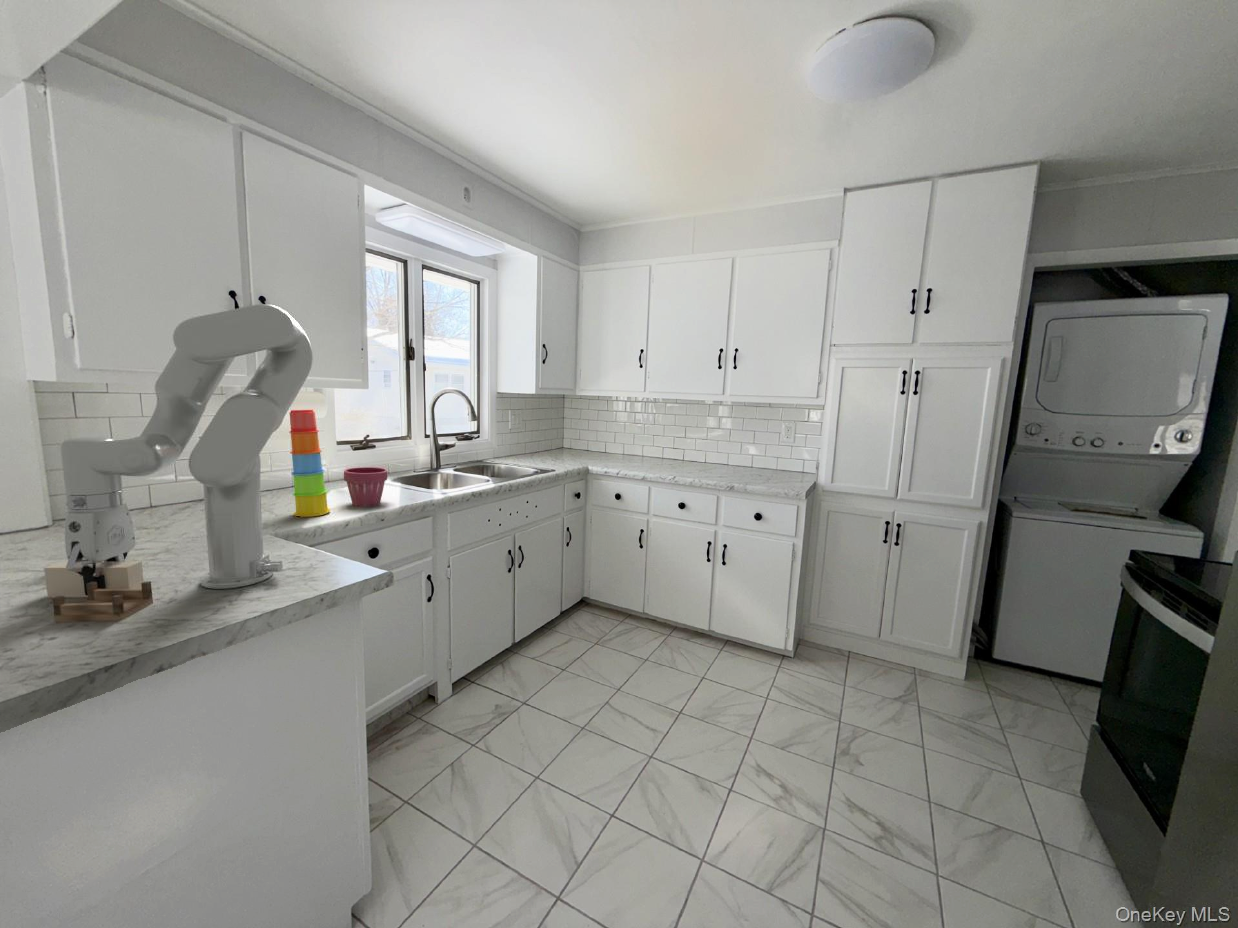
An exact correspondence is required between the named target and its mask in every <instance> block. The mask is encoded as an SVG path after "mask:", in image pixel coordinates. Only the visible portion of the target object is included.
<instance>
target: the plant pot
mask: <svg viewBox="0 0 1238 928" xmlns="http://www.w3.org/2000/svg"><path fill="white" fill-rule="evenodd" d="M387 480H388V470H387V468H384V467H374V466H369V467H368V466H362V467H360V466H358V467H350V468H345V469H344V470H343V481H344V482H346V485H347V488H348V492H349V497H350V499H351V504H352V506H355V507H359V508H360V507H361V508H362V507H364V508H365V507H374V506H375V507H376V506H378V505H380V504H381V500H382V496H383V492H384V488H385V482H386V481H387Z"/></svg>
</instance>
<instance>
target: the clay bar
mask: <svg viewBox="0 0 1238 928" xmlns="http://www.w3.org/2000/svg"><path fill="white" fill-rule="evenodd" d="M67 562H68V561H59V562H57V563H53V564H51V565H49V566H45V567H44V569H43V570H44V571H43V572H44V577H45V586H46V593H47V598H54V597H56V596H64V598H88V596H87V595H85V590H84V581H83V577H80V576H79V574H78V573H76V572H74V571H69V570H66V565H67ZM88 566H90V567H91V568H93V564H88ZM143 571H144V570H143V561H142V560H139V561H136V560H135V561H133V560H130V561H128V560H127V561H105V562H104V561H101V575H104V577H105V587H106V589H137V588H142V587H141V583H143V582H145V580H144V573H143Z"/></svg>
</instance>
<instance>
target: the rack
mask: <svg viewBox="0 0 1238 928" xmlns="http://www.w3.org/2000/svg"><path fill="white" fill-rule="evenodd" d="M86 585H87V594H88V597H87V600H85V601H83V602H75V603H74V602H71V603H69V602H68V603H67V602H66V601H65V597H64V596H56V597H51V598H52V605H53V613H54V616H53V617H54V622H55V623H71V622H72V623H74V622H77V623H78V622H79V623H80V622H114V621H115V622H120V621H122V620H125V619H126V618H128V617H130V616H131V615H133V614H135V613H137V612H139V611H141V610H143V609H144V608H148V606H150V605H152V604H154V599H153V591H152V581H145V580H144V582H143V583H141V587H142V588H137V589H98V588H97V582H90V583H87V584H86Z"/></svg>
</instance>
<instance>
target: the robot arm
mask: <svg viewBox="0 0 1238 928" xmlns="http://www.w3.org/2000/svg"><path fill="white" fill-rule="evenodd" d="M172 337H173V338H172V339H173V340H172V341H173V344H174V347H175V348H176V349H175V351H174V352H173V354H172V356H171V357H170V358H169V360H168V362H167V363H166V365H165V367H164V369H163V370H162V372H161V374H160V375H159V376H158V378H157V380H156V381H155V385H154V392H155V395H156V396H155V397H156V405H155V408H154V411H153V413H152V415H151V417H150V419H149V421H148V423H147V424H146V426H145V427H144V429H143V431H142V432H141V434H140V435H139V436H135V437H132V438H131V437H130V438H123V439H116V440H115V439H113V438H111V437H103V436H84V437H83V436H82V437H81V436H80V437H72V438H68V439H65V440H63V441H62V442H61V445H60V456H61V464H62V472H63V480H64V490H65V499H66V502H65V506H66V508H67V512H66V514H65V515H66V516H65V522H64V523H65V525H64V547H65V555H66V559H67V561H66V562H67V565H66V570H69V571H74V572H76V573H78V574H79V576H80V577H83V581H84V590H85V595H87V596H88V594H87V585H86V584H87V583H90V582H97V588H98V589H106V587H105V577H104V575H101V562H105V561H125V560H126V559H127V557H128V554H129V553H130V552H131V551H132V550H133V549H134V548H135V547H136V534H135V529H134V525H133V519H132V514H131V513H130V510H129V507H128V505H127V503H125V502H124V501H125V500H124V492H123V482H122V480H123V479H122V476H124V477H125V476H126V477H145V476H150V475H153V474H155V473H157V472H158V473H159V472H160V471H161V470H163V469H166V468H168V467H170V466H172V465H173V464H174V463H175V462H176V461H177V460H178V459H179V457H180V456H181V454H182V453H183V451H184V450H185V448H186V447H187V445H188V443H189V442H190V440H191V438H192V437H193V434H194V433H195V432H196V430H197V427H198V425H199V423H200V421H201V418H202V416H203V415H204V412H205V411H206V407H207V405H208V403H209V401H210V400H211V398H212V396H213V395H214V392H216V389H217V388H218V386H219V384H220V383H221V382H222V379H223V378H224V377H225V374H226V373H227V371H228V369H229V368H230V366H231V365H232V363H233V362H234V359H235V357H239V356H245V355H248V354H253V353H257V352H261V351H266V353H265V356H264V359H263V360H262V362H261V363H260V365H259V366H258V367H257V369H256V370H255V372H254V374H253V376H252V378H251V379H250V380H249V382H248V383H247V385H246V387H244V389H243V391H241V392H240V393H237V394H234V395H232V396H230V397H229V398H227V400H225V401H224V402H223V403H222V404H221V406H220V407H219V408H218V409H217V411H216V413H215V414H214V416H213V418H212V419H211V421H210V422H209V424H208V425H207V427H206V428H205V430H204V431H203V433H202V434H201V436H200V438H199V440H198V441H197V443H196V444H195V446H194V447H193V449H192V451H191V453H190V454H189V457H188V470H189V472H190V473H191V475H192V477H193V478H194V480H195V481H197V482H199V483H200V484H201V485H203V488H204V489H203V498H204V499H203V501H204V502H203V503H204V514H205V515H204V516H205V517H204V518H205V529H206V530H205V531H206V541H207V544H206V545H207V554H208V555H207V557H208V569H209V571H208V572H207V573H205V574H204V575H202V576H201V578H200V579H199V580H200V581H199V582H200V585H201V586H202V587H204V588H207V589H213V590H214V589H215V590H222V589H226V590H227V589H234V588H240V587H241V588H242V587H245V586H246V587H247V586H250V585H254V584H257V583H261V582H262V581H266V580H267V579H269V578H270V577H272V576H273V574H274V573H281V572H282V571H283V561H282V560H272V559H271V560H270V554H267V553H264V540H263V536H264V535H263V521H262V500H261V498H262V497H261V467H262V466H261V456H260V455H261V452H262V451H263V449H264V448H265V446H266V444H267V442H268V440H269V439H270V438H271V436H272V434H274V432H277V430H278V429H279V428H280V426H281V425H282V423H283V421H284V419H285V416H286V414H287V413H288V411H289V410H290V408H291V406H292V404H293V403H294V401H295V399H296V397H298V394H299V393H300V390H301V389H302V387H303V386H304V384H305V382H306V380H307V378H308V376H309V375H310V371H311V369H312V366H313V365H312V364H313V361H314V359H313V356H314V355H313V349H312V344H311V342H310V339H309V338H308V336H307V333H306V332H305V330H304V329H303V328H302V327H301V325H300V324H299V323H298V321H297V320H295V318H294V317H293V316H292V315H290V314H289V313H288V312H287V311H286V310H284V309H282V308H281V307H278V306H276V305H272V304H269V303H268V304H267V303H266V304H264V303H261V304H254V305H248V306H243V307H239V308H238V307H237V308H234V309H230V310H224V311H220V312H213V313H209V314H204V315H200V316H199V315H198V316H194V317H190V318H187V319H185V320H182V321H181V322H180V323H178V325H177V326H176V327H175V329H174V331H173V335H172ZM88 564H93V568H91V567H90V566H88Z"/></svg>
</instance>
